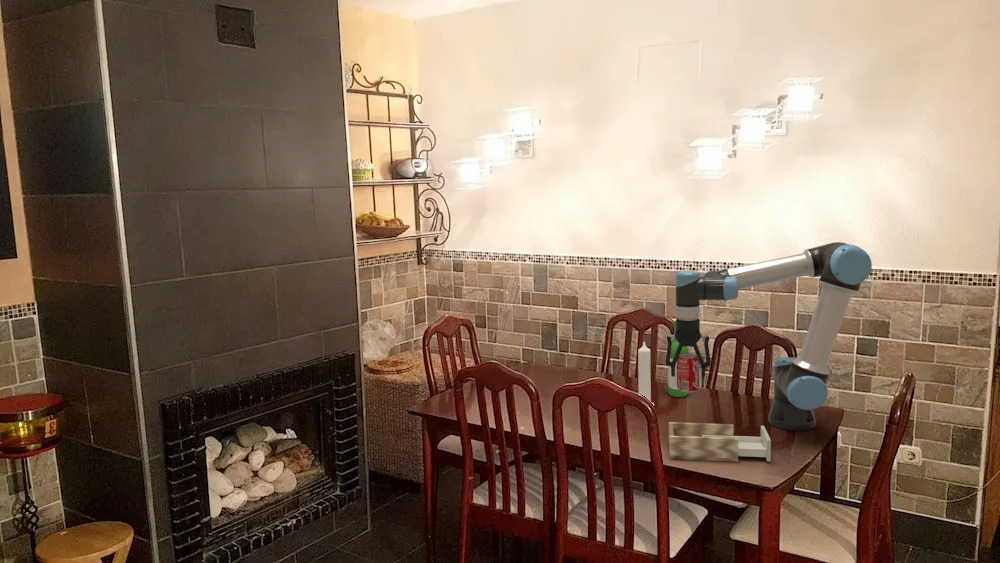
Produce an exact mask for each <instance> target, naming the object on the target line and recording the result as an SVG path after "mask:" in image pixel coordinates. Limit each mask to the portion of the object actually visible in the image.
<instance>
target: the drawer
mask: <svg viewBox="0 0 1000 563" xmlns="http://www.w3.org/2000/svg"><path fill="white" fill-rule="evenodd" d="M702 437H719V438H738V457H754V458H755V457H756V458H765V460H766V462H767V463H768V462H769V463H770V462H771V460H772V459H771V456H772V455H771V454H772V452H771V451H772V450H771V449H772V440H771V438H770V435H769V434H768V431H767V430H766V427H765V425H760V436H748V435H747V436H746V435H745V436H744V435H733V436H723V435H702Z"/></svg>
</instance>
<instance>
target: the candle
mask: <svg viewBox="0 0 1000 563" xmlns="http://www.w3.org/2000/svg"><path fill="white" fill-rule="evenodd" d="M646 344H647V343H646V341H643V342H642V346H641V347H640V348H639V349H637V350H638V351H637V356H638V357H637V358H638V360H637V361H638V362H637V363H638V364H637V368H638V371H637V374H638V377H637V378H638V380H637V382H638V390H637V391H638V395H639V394H641V395H643V396H645V397H646V398H647V399H648V400H649V401H650V402H651V403H652V404H653V406H654V407H655V403H654V402H652V400H651V399H652V398H651V392H652V391H651V389H652V388H651V349H650V348H649V347H647V345H646Z"/></svg>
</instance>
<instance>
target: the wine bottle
mask: <svg viewBox="0 0 1000 563" xmlns="http://www.w3.org/2000/svg"><path fill="white" fill-rule="evenodd" d="M673 322H674V323H673V324H674V326H673V327H674V328H673V329H674V330H673V332H674V333H673V335H675V333H676V320H674V321H673ZM678 345H679V342H678V341H677V339H676V338H674V341H673V342H672V346H671V354H670V362H672V360H673V358H674V355H675V353H676V350H677V348H678ZM688 348H689V346H686V347H682V350H681V352H680V354H685V353H689V349H688ZM678 358H679V357H678ZM675 366H677V362H676V365H675ZM667 367H668V368H667V371H668V372H667V382H668V383H667V385H668V386H667V388H668V390H667V391H668V395H670V396H671V397H673V398H684V397H687V396H688V394H689V393H685V392H681V391H680V390H679V389H678V387H675V377H673V376H671V367H670V366H668V365H667Z"/></svg>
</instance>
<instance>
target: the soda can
mask: <svg viewBox="0 0 1000 563" xmlns="http://www.w3.org/2000/svg"><path fill="white" fill-rule="evenodd" d="M699 366H700V362H699V360H698V357H697V355H696V353H695V354H694V353H689V352H688V353H685V354H680V355H679V358H678V360H677V387H678V389H679V390H680V391H681V392H685V393H688V394H689V393H690V394H693V393H695V392H696V391H698V390H699Z"/></svg>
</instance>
